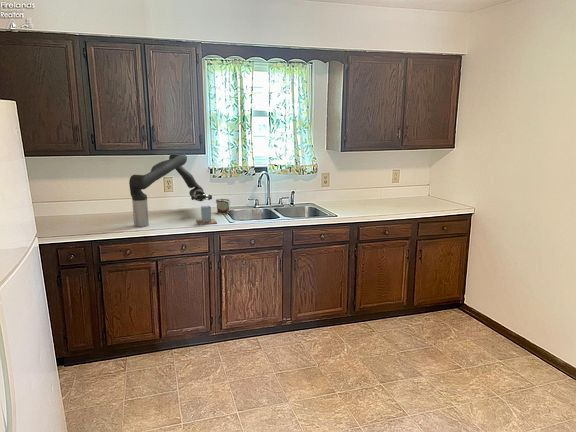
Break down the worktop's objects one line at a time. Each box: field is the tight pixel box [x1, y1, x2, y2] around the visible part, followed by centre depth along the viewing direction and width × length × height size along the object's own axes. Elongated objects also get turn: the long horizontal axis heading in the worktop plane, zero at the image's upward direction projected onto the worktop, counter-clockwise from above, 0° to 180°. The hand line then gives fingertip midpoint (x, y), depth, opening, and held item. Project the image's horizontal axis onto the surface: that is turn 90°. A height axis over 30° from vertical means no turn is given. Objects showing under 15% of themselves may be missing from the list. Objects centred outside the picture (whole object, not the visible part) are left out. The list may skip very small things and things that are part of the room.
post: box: [195, 218, 218, 226], centre depth 295 cm, size 12×12×8 cm
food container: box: [215, 198, 231, 215], centre depth 325 cm, size 12×6×10 cm, turn 57°
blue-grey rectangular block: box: [200, 205, 212, 222], centre depth 295 cm, size 6×6×10 cm
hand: (203, 198), depth 303 cm, fingers open, 8 cm apart
